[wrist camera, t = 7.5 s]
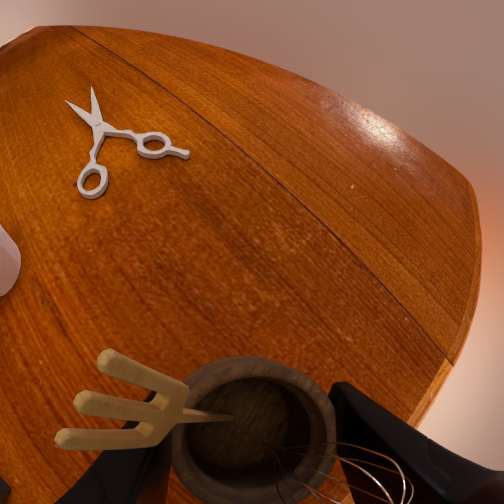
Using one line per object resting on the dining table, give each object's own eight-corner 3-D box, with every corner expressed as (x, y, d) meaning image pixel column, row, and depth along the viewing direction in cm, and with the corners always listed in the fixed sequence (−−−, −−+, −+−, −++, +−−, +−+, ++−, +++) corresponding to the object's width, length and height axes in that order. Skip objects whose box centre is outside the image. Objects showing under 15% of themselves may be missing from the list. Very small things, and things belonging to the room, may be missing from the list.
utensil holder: (260, 484, 11) (377, 627, 1) (150, 432, 12) (14, 533, 1) (310, 391, 14) (512, 371, 3) (204, 339, 14) (202, 200, 4)
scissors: (90, 211, 22) (42, 110, 26) (93, 216, 22) (44, 114, 27) (190, 152, 26) (112, 74, 30) (190, 158, 26) (113, 78, 31)
